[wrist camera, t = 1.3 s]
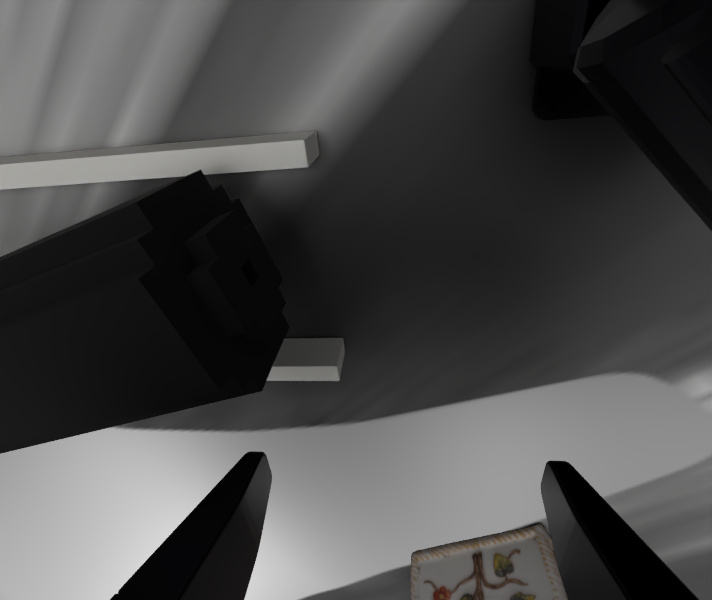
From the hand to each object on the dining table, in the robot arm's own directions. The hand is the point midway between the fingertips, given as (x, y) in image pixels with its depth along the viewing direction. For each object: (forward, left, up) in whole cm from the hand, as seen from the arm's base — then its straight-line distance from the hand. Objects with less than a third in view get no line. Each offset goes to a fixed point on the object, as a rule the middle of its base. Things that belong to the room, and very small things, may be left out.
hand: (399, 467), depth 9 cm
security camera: (+14, 0, -12) cm, 18 cm away
